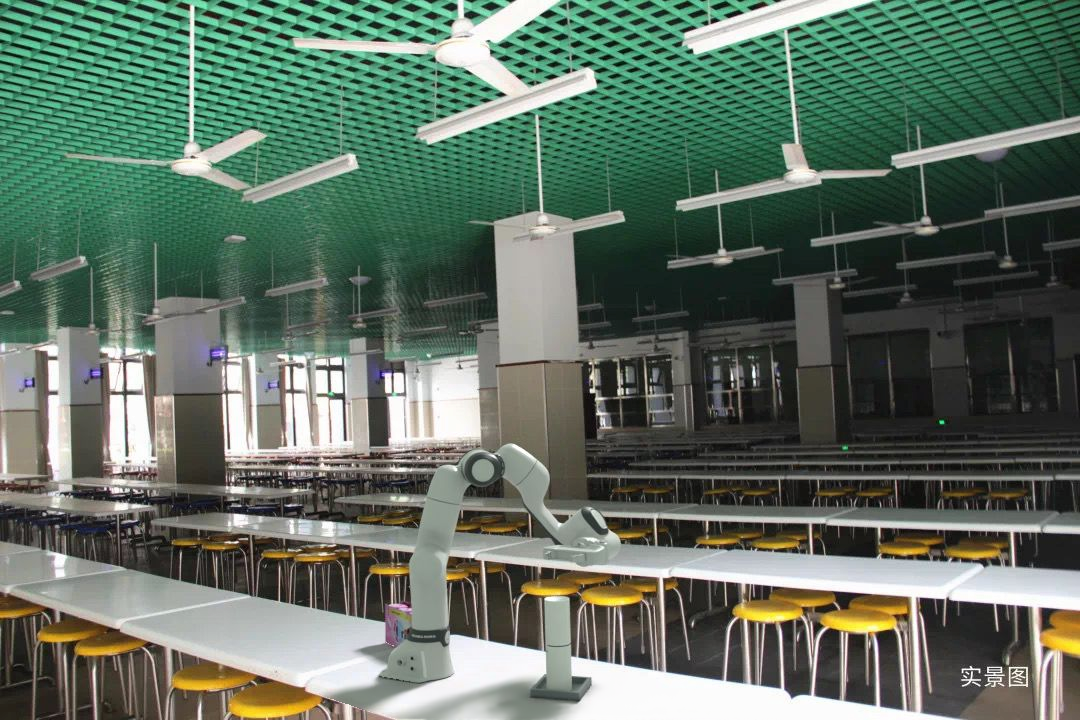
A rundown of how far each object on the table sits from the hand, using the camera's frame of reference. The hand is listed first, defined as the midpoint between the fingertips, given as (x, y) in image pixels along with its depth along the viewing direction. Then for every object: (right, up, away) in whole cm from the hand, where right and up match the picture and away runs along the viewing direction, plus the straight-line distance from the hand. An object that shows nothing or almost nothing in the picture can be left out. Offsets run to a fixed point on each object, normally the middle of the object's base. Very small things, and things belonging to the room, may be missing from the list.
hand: (558, 558), depth 241 cm
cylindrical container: (0, -34, -11) cm, 36 cm away
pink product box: (-50, -40, +38) cm, 75 cm away
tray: (+1, -35, -11) cm, 37 cm away
